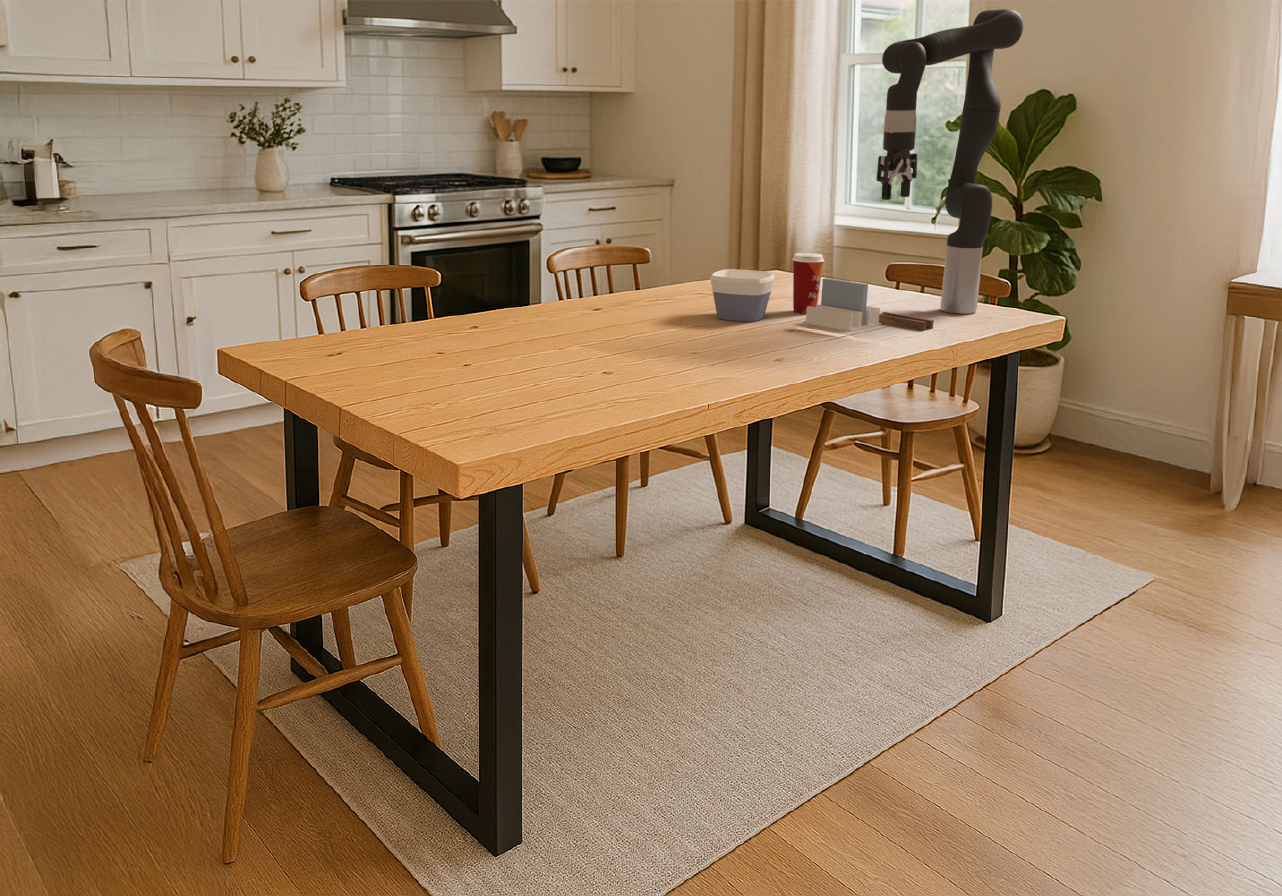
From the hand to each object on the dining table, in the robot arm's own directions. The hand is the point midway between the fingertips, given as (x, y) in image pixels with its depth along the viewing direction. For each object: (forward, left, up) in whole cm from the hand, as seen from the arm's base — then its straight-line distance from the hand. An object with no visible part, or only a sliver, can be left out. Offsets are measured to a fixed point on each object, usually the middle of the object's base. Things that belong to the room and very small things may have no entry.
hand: (895, 198), depth 268 cm
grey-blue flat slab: (+16, -2, -29) cm, 33 cm away
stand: (+6, +9, -30) cm, 32 cm away
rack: (+16, -2, -30) cm, 34 cm away
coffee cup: (+7, -20, -31) cm, 37 cm away
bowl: (+26, -26, -31) cm, 48 cm away
